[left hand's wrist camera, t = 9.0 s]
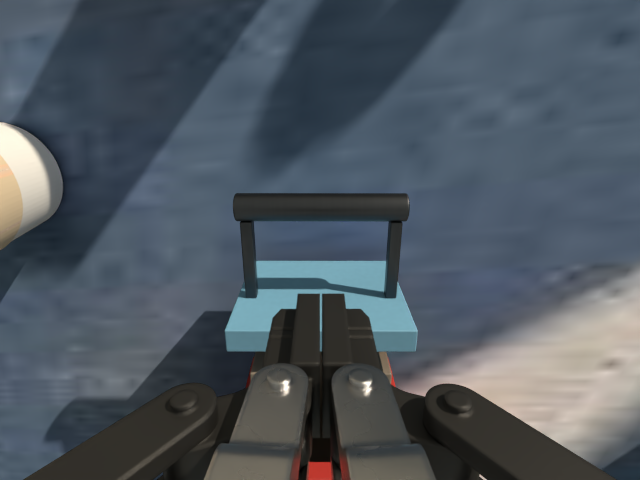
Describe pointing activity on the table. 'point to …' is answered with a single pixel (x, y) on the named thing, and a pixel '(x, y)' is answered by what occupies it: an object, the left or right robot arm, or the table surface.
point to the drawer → (321, 277)
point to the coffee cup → (25, 183)
